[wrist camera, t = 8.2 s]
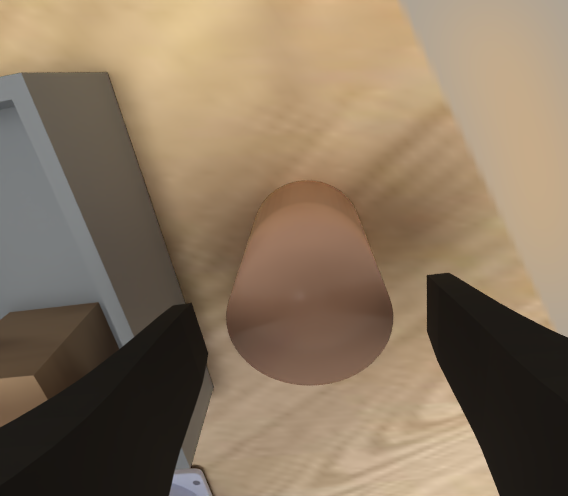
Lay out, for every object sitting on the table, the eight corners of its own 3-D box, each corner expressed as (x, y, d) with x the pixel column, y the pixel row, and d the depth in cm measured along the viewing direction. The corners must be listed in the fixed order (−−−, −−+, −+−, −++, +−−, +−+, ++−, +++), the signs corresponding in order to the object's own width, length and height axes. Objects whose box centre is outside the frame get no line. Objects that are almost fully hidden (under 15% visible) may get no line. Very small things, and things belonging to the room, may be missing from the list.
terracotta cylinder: (364, 271, 18) (396, 377, 12) (264, 283, 19) (245, 391, 12) (355, 172, 16) (389, 237, 10) (243, 189, 17) (207, 261, 10)
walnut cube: (131, 375, 21) (83, 460, 16) (50, 383, 21) (-18, 466, 17) (98, 302, 19) (33, 375, 14) (9, 312, 19) (-81, 385, 15)
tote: (213, 387, 22) (190, 468, 17) (14, 405, 23) (-55, 484, 19) (107, 72, 15) (21, 72, 10) (-171, 127, 16) (-353, 149, 12)
